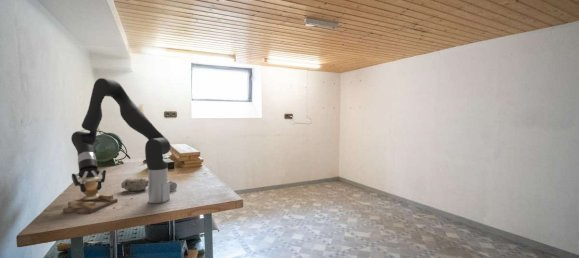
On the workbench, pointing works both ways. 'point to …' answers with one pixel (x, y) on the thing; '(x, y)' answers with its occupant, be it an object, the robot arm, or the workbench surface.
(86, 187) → the bobbin
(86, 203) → the notched board
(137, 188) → the pumice stone
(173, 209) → the workbench surface
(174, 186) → the flashlight
